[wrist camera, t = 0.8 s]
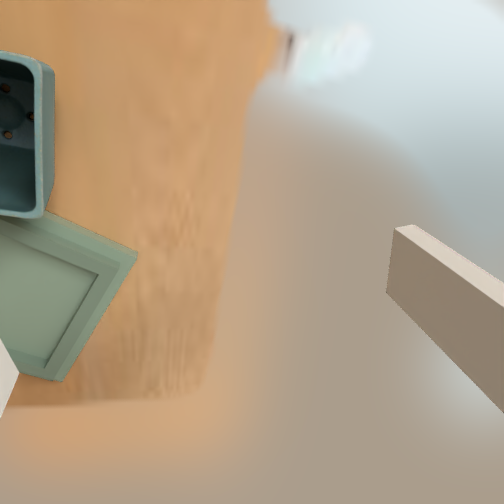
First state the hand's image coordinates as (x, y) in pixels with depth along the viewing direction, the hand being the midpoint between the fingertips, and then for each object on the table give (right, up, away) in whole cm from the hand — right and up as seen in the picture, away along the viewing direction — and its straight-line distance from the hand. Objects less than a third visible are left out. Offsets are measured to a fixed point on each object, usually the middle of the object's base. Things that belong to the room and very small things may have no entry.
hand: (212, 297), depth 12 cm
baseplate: (-20, -1, +20) cm, 29 cm away
